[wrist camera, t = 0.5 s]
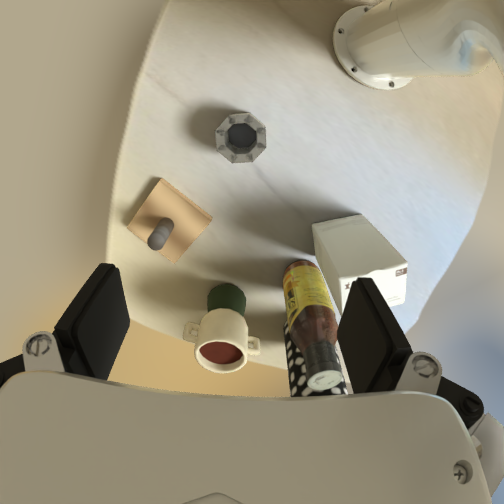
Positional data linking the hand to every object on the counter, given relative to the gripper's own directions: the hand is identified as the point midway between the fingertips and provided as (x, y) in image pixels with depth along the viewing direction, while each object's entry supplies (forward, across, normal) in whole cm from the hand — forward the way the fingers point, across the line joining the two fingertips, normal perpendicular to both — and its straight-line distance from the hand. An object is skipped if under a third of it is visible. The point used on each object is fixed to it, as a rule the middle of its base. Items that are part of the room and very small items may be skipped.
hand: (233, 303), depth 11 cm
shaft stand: (+30, +10, +9) cm, 33 cm away
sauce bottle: (+30, -10, +17) cm, 36 cm away
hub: (+29, 0, -3) cm, 29 cm away
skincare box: (+29, -15, +10) cm, 34 cm away
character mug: (+30, +2, +22) cm, 37 cm away
